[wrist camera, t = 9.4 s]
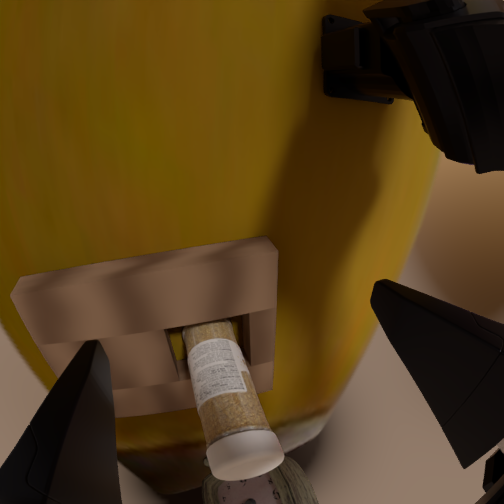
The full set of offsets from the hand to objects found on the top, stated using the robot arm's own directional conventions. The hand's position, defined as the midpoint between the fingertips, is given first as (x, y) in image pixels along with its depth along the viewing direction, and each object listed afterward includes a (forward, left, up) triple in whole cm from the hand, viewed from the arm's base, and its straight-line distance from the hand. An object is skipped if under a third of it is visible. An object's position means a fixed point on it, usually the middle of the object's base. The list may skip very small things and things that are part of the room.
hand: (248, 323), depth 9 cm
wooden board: (+5, +12, -13) cm, 18 cm away
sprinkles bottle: (0, +12, -13) cm, 18 cm away
